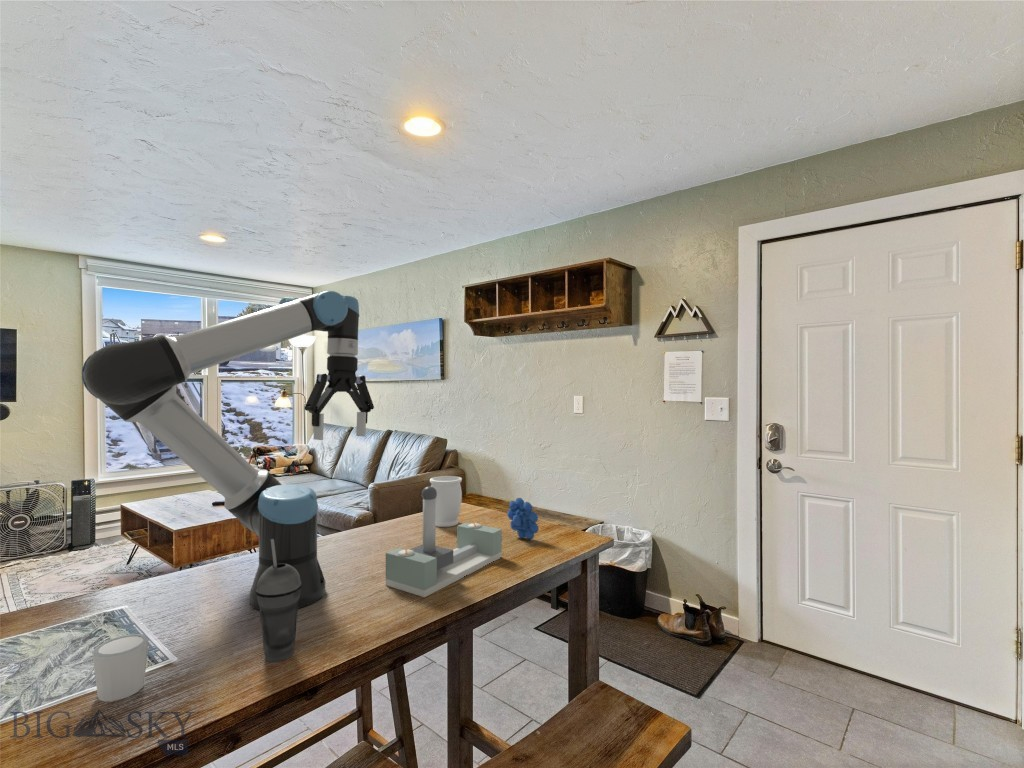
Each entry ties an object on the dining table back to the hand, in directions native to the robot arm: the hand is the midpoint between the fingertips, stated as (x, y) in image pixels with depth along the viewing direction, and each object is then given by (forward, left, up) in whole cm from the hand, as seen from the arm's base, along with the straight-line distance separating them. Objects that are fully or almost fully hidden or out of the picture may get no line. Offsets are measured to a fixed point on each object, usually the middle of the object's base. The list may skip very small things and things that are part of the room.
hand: (340, 438), depth 132 cm
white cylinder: (-54, -17, -33) cm, 65 cm away
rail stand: (+11, -27, -32) cm, 43 cm away
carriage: (+4, -27, -28) cm, 39 cm away
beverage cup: (-35, -28, -32) cm, 55 cm away
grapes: (+42, -29, -32) cm, 60 cm away
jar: (+42, 0, -33) cm, 53 cm away
